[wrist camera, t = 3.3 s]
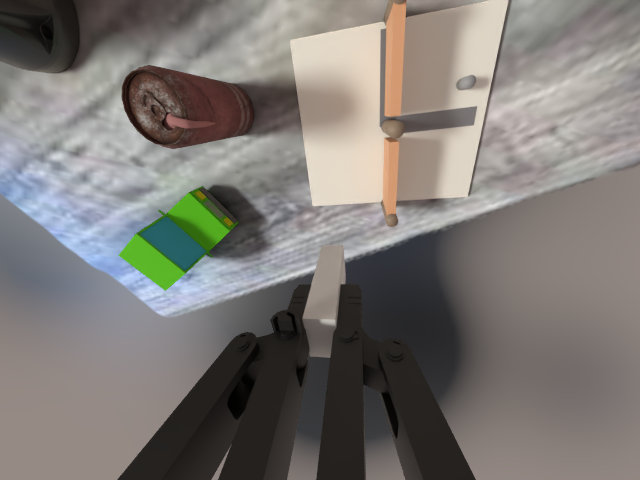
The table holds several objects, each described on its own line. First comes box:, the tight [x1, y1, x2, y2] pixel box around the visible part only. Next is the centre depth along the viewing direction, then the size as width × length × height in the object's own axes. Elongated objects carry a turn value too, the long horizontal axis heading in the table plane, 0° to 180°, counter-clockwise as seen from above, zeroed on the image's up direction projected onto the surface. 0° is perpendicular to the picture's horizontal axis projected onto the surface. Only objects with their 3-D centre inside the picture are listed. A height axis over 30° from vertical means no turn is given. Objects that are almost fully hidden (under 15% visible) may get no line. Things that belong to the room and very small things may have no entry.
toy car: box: [119, 186, 239, 291], centre depth 36 cm, size 10×13×10 cm
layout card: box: [290, 0, 508, 206], centre depth 28 cm, size 20×22×2 cm
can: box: [122, 65, 254, 149], centre depth 24 cm, size 6×6×14 cm
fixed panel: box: [381, 0, 406, 139], centre depth 23 cm, size 12×2×7 cm, turn 7°
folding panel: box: [381, 137, 399, 227], centre depth 28 cm, size 10×1×7 cm, turn 7°
